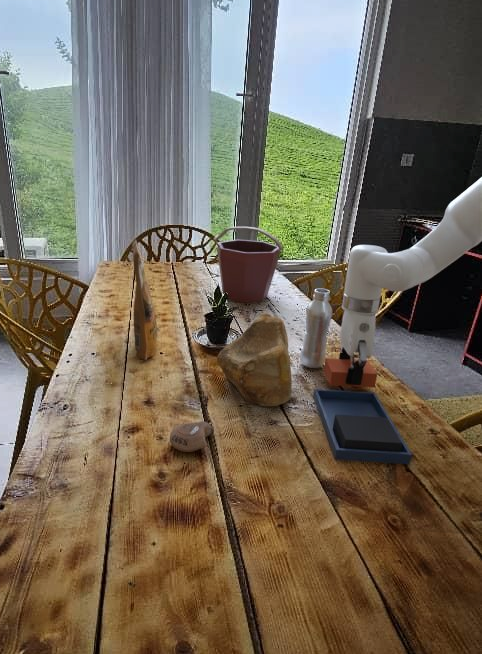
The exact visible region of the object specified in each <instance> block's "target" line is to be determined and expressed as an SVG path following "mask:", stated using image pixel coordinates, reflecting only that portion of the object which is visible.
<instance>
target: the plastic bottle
mask: <svg viewBox="0 0 482 654" xmlns="http://www.w3.org/2000/svg"><path fill="white" fill-rule="evenodd" d="M330 294H331V291H330V290H329V289H327V288H316V289H314V293H313V296H312V298H313V299H312V300H311V301H310V303H308V305H307V306H306V309H305V333H304V338H303V341H302V346H301V349H300V351H299V361H300V362H301V364H302V365H303V366H304V367H307V368H310V369H319V368H321V367H323V365H325V359H326V357H327V350H326V346H327V337H328V332H329V327H330V324H331V321H332V317H333V308H332V306H331V304H330V302H329V300H330V299H331V298H330Z"/></svg>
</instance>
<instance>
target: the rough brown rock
mask: <svg viewBox="0 0 482 654" xmlns="http://www.w3.org/2000/svg"><path fill="white" fill-rule="evenodd" d="M290 357H291V356H290V353H289V338H288V334H287V329H286V325H285V321H283V320H282V318H280V317H278V316H274V315H273V316H271V315H270V314H268V313H267V312H261V313H259V314H258V315H257V316H256V318H255V319H254V320H253V321H252V323H250V325H249V327H247V328H246V330H244V332H243V333H242V334H241V335H240V336H239V337H238V338H236V339H235V340H233V341H232V342H230V343H228V344H227V345H225V346H224V347H223V349H221V351H219V353H218V355H217V357H216V364H217V365H218V367H220V369H221V370H222V372H223V374H224V376H225V377H226V379H228V381H229V382H231V383H232V384H233V385H234V386H235V388H236V389H237V390H238V391H239V393H240V394H241V396H242V398H243V399H244V400H245V401H246V402H247V403H249V404H250V405H254V404H256V405H258V406H261V407H278V406H280V405H283V404H285V403H287V402H289V400H290V399H291V396H292V368H291V367H292V366H291V358H290Z"/></svg>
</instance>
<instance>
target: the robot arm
mask: <svg viewBox="0 0 482 654" xmlns="http://www.w3.org/2000/svg"><path fill="white" fill-rule="evenodd" d="M481 242H482V176H481V177H480V178H479V179H478V180H477V181H475V182H474V183H473V184H472V185H470V186H469V187H468V188H467V189H466V190H464V191H463V192H461V193H460V194H459V195H458V196H457V197H456V198H454V199H453V200H452V201H450V203H449V204H448V205H447V207H446V209H445V211H444V215H443V218H442V219H441V221H440V222H439V223H438V224H437V225H436V227H434V228H433V229H432V230H431V231H430V232H429V233H428V234H427V235H425V236H424V237H423V238H422V239H420V240H418V242H416V243H415V244H414V245H413V246H411V247H409V248H407V249H404V250H400V251H397V252H396V251H395V252H388V250H387V249H386V248H384V247H382V246H380V245H379V246H378V245H373V244H357V245H354V246H353V247H352V248H351V249H350V252H349V257H348V263H347V271H346V277H345V285H344V291H343V295H342V296H343V298H342V304H341V308H342V310H343V311H344V312H343V316H342V320H341V327H340V332H339V333H340V334H339V340H340V349H339V351H340V352H339V355H338V359H349V360H350V367H348V373H347V379H346V383H347V384H350V385H361V382H362V376H363V370H364V366H365V365H366V363H367V360H368V358H372V356H373V350H374V344H375V343H374V342H375V335H376V322H377V321H376V319H377V317H376V314H378V313H379V309H380V303H381V297H382V291H383V289H384V290H387V291H390V292H396V293H399V292H405V291H407V290H409V289H412V288H414V287H416V286H418V285H420V284H423V283H426V282H427V281H428V280H430V279H432V278H433V277H434V276H436V275H437V274H439V273H440V272H441V271H443V270H444V269H446V268H447V267H448V266H450V265H451V264H452V263H454V262H455V261H457V260H458V259H459V258H460V257H462V256H463V255H464V254H466V253H467V252H468V251H470V250H471V249H472V248H474V247H477V246H478V245H479V244H480V243H481ZM355 353H358V354H355ZM355 359H357V360H358V361H356V362H355V363H354V360H355Z"/></svg>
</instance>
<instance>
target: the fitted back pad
mask: <svg viewBox="0 0 482 654" xmlns="http://www.w3.org/2000/svg"><path fill="white" fill-rule="evenodd" d="M333 432H334V434H335V437H336V440H337V442H338V445H339V448H345V449H360V450H376V451H391V452H400V451H401V447H402V442H401V440H400V438H399V437H398V435H397V433H396V431H395V430H394V428H393V426H392V425H391V423H390V421H389V420H388V418H385V417H369V416H353V415H337V414H335V419H334V424H333Z"/></svg>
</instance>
